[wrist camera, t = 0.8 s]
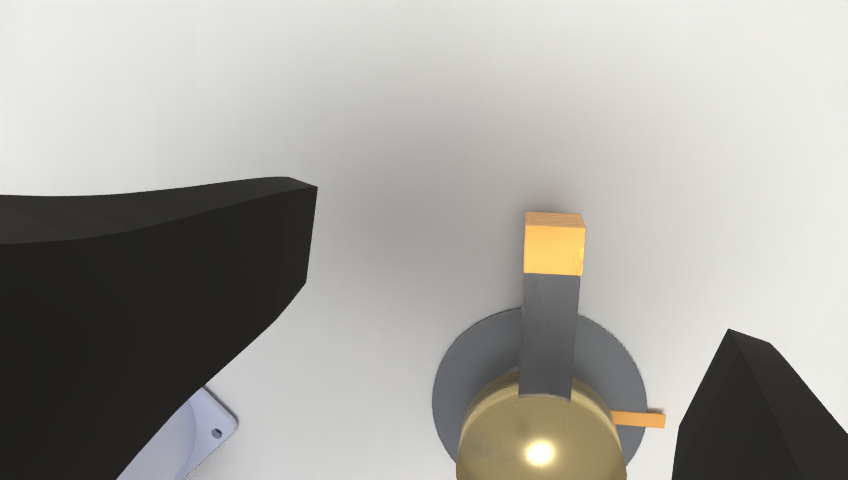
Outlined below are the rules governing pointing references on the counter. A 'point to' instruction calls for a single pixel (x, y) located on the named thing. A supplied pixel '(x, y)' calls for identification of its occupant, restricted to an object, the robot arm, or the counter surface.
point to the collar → (543, 379)
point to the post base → (506, 350)
